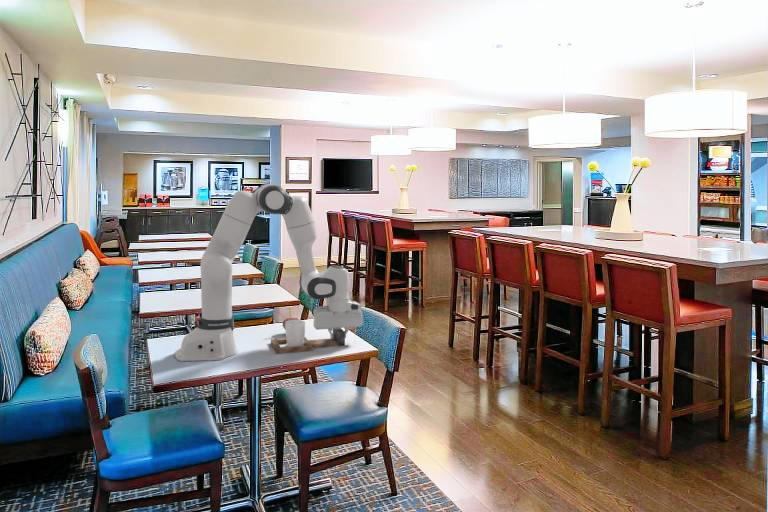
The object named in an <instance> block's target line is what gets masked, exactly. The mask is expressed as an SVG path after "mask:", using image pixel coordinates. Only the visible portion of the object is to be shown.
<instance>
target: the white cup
mask: <svg viewBox="0 0 768 512" xmlns="http://www.w3.org/2000/svg"><path fill="white" fill-rule="evenodd" d="M285 329H286V331H285V338H286V341H287V344H286V347H295V346H304V337H305V338H306V336H305V335H306V321H305V320H302V319H299V320H289V321H286V322H285ZM285 329H284V330H285Z"/></svg>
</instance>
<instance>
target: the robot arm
mask: <svg viewBox="0 0 768 512" xmlns="http://www.w3.org/2000/svg"><path fill="white" fill-rule="evenodd" d="M260 212H265V213H267V214H270V215H280V216H281V217H282V218H283V220H284V224H285V227H286V231H287V234H288V237H289V239H290V242H291V244H292V245H293V247H294V250H295V252H296V253H295V254H296V256H297V261H298V266H299V270H300V277H299V282H298V283H299V288H300V290H301V291H302V292H303V293H305V294H306V295H308V296H309V297H311V299H314V300H324V299H327V305H323V306H321V305H320V306H316V307H315V308H314V309H313V310H312V311H313V312H312V313H313V314H312V315H313V324H312V325H313V327H314V329H315V330H318V331H319V330H327V331H328V333H329V334H330V338H331V339H335V334H333V328H341V329H342V328H343V329H344V330H343V331H344V332H345V339H346V338H347V334H348V332H349V330H350V328H355V327H356V328H357V327H362V326H363V324H364V319H363V318H364V317H363V312H362V310H361V308H362V307H361V306H362V305H361V304H360V303H358V302H357V301H356V300H355V301H354V300H351V299H350V295H349V291H350V274H349V271H348V269H347V268H346V267H344V266H341V265H335V264H334V265H333V264H331V265H330V266H328V268H326V269H324V270H323V271H321V272H319V271H318V269H317V266H316V264H315V263H316V262H315V259H314V254H313V244H314V243H315V241H316V239H317V237H318V236H317V228H316V224H315V219H314V216H313V213H312V210H311V207H310V205H309V203H308V200H307V199H306V198H305V197H303V196H300V195H293V196H291V195H290V194H289V193H288V192H287V191H286V190H285V189H284V188H283V187H281V186H279V185H278V184H276V183H264V184H262V185H260V186H258V187H257V188H256V189H254V190H253V191H251V192H250V191H247V190H238V191H236V192H235V193H234V194H233V196H232V197H231V198H230V200H229V202H228V204H226V207H225V209H224V211H223V213H222V216H221V218H220V219H219V221H218V224H217V226H216V228H215V231H214V233H213V234H212V236H211V237H210V238H211V239H210V241H209V242H208V244H207V246H206V248H205V250H204V253H203V255H202V257H201V258H200V285H201V287H200V288H201V289H200V291H201V294H200V296H201V297H200V299H201V316H195V317H194V322H195V325H196V327H195V328H194V329H192V330H191V331H190V332H189V333H187V334H186V335H184V336H183V339H182V341H181V345H180V348H178V349H177V350H176V351H175V352H174V357H175V359H176V360H177V361H180V362H188V361H189V362H193V361H222V360H224V359H225V358H228V357H231V356H233V355H235V354H237V353H238V349H237V346H236V342H235V336H234V327H235V322H234V316H233V299H232V298H233V296H232V295H233V266H232V265H233V262H234V260H235V259H236V257H237V255H238V252H239V251H240V249H241V247H242V245H244V242H245V240H246V237H247V235H248V233H249V230H250V229H251V225H252V224H253V221H254V220H255V218H256V216H257V215H258V214H259V213H260Z"/></svg>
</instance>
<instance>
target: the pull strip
mask: <svg viewBox="0 0 768 512" xmlns="http://www.w3.org/2000/svg"><path fill="white" fill-rule="evenodd" d="M344 331H345V330H343V329H342V328H332V334H335V339H331V337H330V338H320V339H307V338H306V336H305V337H304V346H295V347H287V346H286V347H285V346H283V347H281V345H285V344H286V345H287V341H286V337H285V338H273V339H272V338H271V339H270V344H271V346H272V348H273V350H274V352H275V354H276V355H277V354H286V353H288V354H289V353H298V352H310V351H311V352H312V351H313V349H317V348H319V349H320V348H333V347H341V346H342V347H343V346H346V338H345V332H344Z"/></svg>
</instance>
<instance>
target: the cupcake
mask: <svg viewBox="0 0 768 512" xmlns="http://www.w3.org/2000/svg"><path fill="white" fill-rule="evenodd" d="M288 311H289V312H288V313H289V317H287V318H285V319H284V320H283V322H282V324H281V325H282V327H283V329H284V330H285V332H286V329H285V322H286V321H289V320H300V319H299V318H298V317H292V310H291V305H290V306H288Z"/></svg>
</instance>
